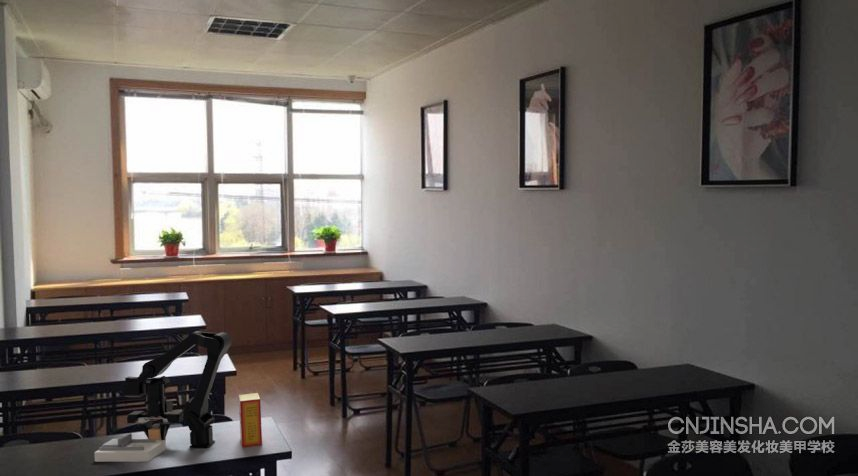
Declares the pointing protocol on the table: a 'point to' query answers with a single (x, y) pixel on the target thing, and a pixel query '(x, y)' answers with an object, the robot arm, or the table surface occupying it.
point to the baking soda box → (250, 420)
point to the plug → (155, 432)
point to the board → (131, 451)
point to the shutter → (119, 441)
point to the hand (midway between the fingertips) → (157, 441)
